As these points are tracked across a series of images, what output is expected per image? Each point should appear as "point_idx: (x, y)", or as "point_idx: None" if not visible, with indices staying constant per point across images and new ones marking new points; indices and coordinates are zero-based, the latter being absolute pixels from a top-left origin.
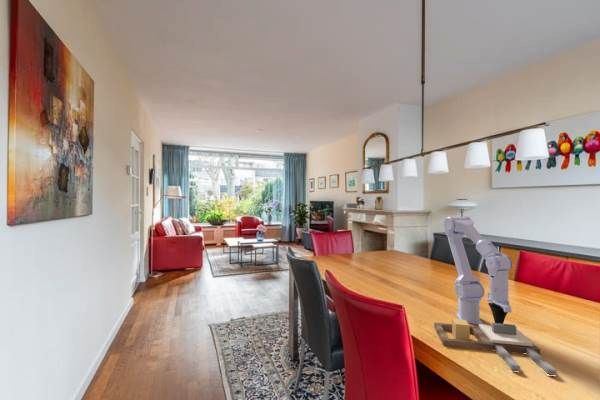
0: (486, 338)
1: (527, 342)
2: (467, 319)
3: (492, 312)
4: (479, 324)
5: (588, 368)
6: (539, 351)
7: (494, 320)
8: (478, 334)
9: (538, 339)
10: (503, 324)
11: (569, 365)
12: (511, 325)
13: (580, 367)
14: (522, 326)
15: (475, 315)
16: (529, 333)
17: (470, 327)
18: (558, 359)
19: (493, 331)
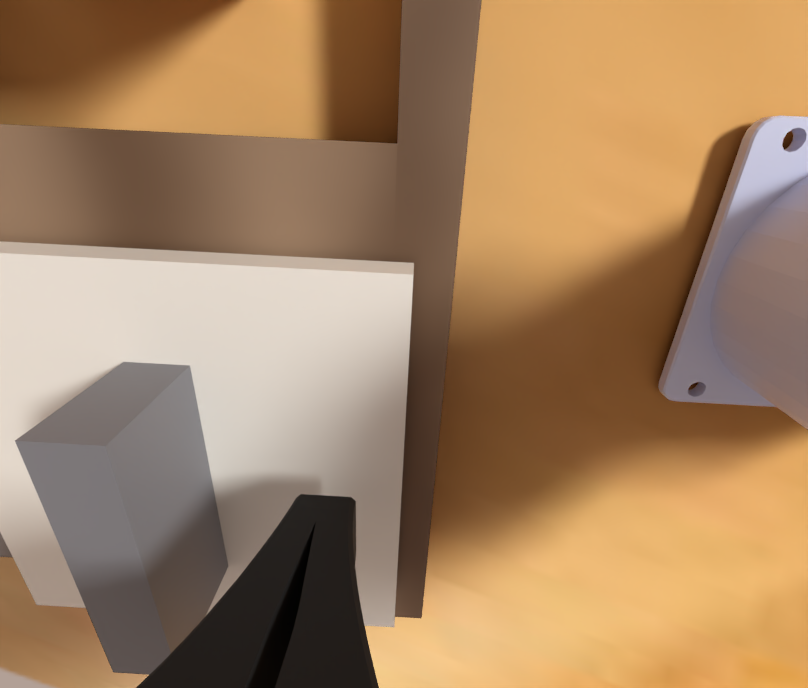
0: (47, 218)
1: (30, 576)
2: (784, 221)
3: (337, 658)
4: (397, 278)
5: (61, 677)
6: None
7: (328, 525)
8: (140, 146)
9: (382, 645)
10: (118, 575)
11: (44, 624)
12: (126, 643)
13: (51, 655)
14: (605, 656)
15: (786, 364)
16: (478, 642)
17: (399, 115)
18: None
19: (127, 371)
